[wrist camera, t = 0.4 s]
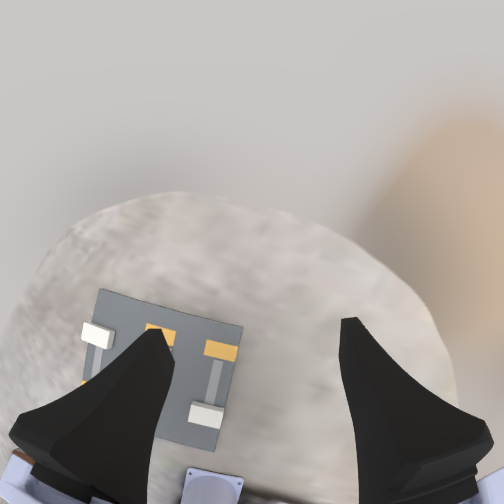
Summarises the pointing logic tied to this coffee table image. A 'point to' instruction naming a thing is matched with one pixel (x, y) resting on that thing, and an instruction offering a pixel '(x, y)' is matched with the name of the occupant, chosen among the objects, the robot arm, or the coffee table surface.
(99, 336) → the switch
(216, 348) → the switch board
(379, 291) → the coffee table surface
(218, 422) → the switch
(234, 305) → the coffee table surface
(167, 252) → the coffee table surface
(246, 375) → the coffee table surface
